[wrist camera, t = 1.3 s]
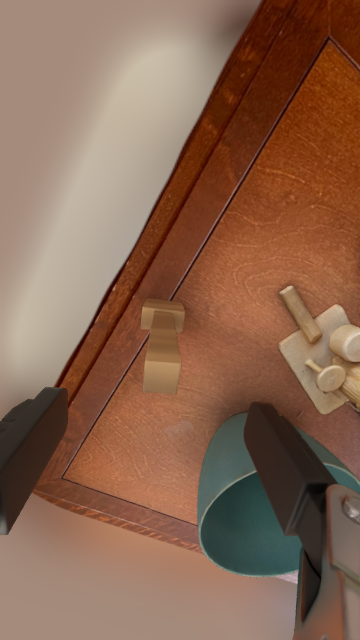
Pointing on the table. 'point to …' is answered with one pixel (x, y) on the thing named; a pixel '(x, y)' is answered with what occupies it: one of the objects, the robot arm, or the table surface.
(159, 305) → the stick
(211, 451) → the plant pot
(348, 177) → the table surface
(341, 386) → the wooden toy
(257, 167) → the table surface
